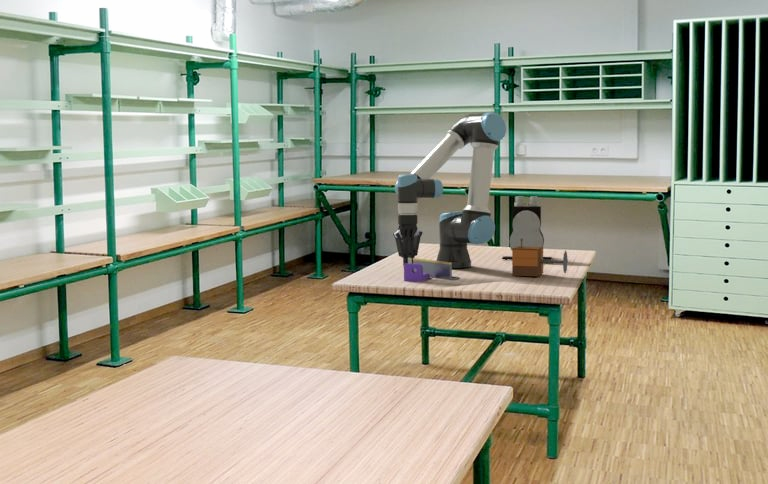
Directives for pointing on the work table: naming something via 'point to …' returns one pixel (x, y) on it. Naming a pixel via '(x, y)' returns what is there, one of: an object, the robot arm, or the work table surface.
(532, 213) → the mechanical component
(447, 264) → the wall
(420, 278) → the bracket
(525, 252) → the brown box with disc
